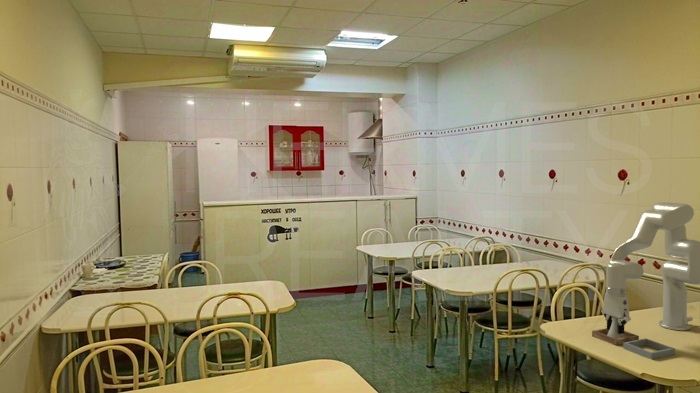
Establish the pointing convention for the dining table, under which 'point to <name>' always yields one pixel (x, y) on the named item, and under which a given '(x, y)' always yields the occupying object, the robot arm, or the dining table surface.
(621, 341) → the bin walnut
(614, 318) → the flask
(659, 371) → the dining table surface
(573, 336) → the dining table surface
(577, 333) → the dining table surface
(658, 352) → the bin grey
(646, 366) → the dining table surface
